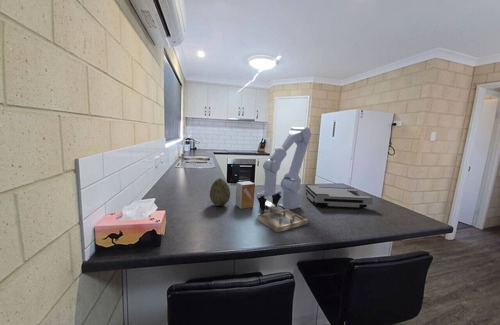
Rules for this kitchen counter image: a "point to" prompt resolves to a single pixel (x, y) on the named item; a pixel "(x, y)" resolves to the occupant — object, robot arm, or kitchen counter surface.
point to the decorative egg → (219, 192)
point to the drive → (269, 207)
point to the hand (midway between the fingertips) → (268, 209)
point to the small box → (245, 194)
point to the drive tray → (282, 220)
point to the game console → (336, 197)
